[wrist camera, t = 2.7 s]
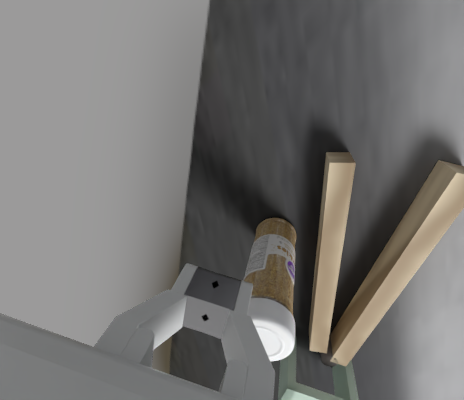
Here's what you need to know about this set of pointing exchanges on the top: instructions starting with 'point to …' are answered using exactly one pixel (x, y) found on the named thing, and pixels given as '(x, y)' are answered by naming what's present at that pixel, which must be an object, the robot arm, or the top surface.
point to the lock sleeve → (300, 396)
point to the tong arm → (330, 245)
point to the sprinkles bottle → (273, 286)
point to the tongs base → (399, 260)
